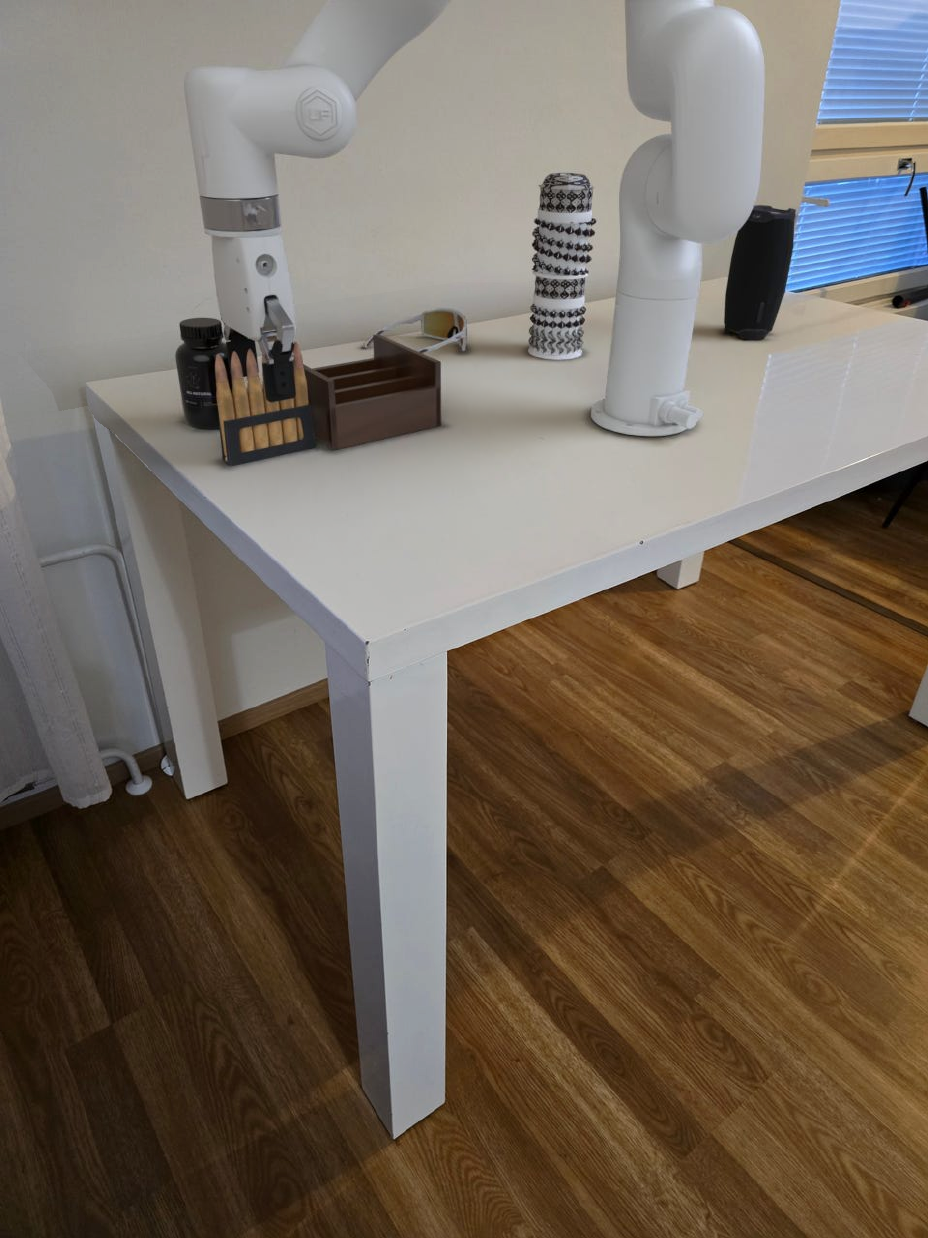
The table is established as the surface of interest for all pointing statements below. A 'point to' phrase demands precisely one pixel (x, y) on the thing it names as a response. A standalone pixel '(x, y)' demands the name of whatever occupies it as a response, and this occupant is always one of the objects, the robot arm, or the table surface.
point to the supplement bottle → (200, 370)
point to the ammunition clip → (261, 414)
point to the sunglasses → (436, 327)
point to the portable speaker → (759, 272)
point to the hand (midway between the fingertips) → (262, 387)
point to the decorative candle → (561, 266)
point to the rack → (375, 396)
